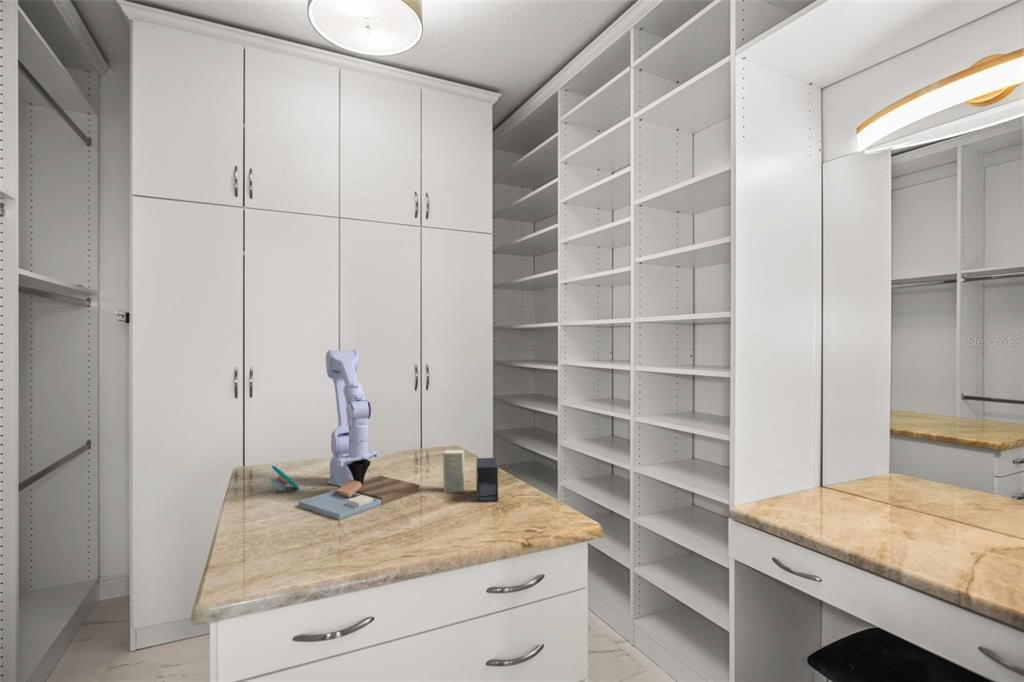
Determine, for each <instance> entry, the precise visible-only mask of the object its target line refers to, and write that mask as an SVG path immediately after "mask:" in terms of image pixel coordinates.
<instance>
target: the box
mask: <svg viewBox="0 0 1024 682" xmlns="http://www.w3.org/2000/svg"><path fill="white" fill-rule="evenodd" d="M337 490H338V489H335V490H332V491H328V492H326V493H325V492H324V493H322V494H318V495H316V496H312V497H309V498H305V499H302V500H299V501H298V508H301V509H305V510H308V511H310V512H313V513H318V514H319V515H323V516H326V517H329V518H332V519H336V520H338V521H341V520H344V519H348V518H349V517H353V516H355V515H358V514H360V513H363V512H366V511H369V510H372V509H374V508H377V507H380V506H382V505H381V500H380V499H376V498H373V497H370V498H373V502H370V503H367V504H364V505H362V506H359V507H356V508H355V507H352V506H349V505H347V500H348V499H351V498H354V497H358V496H361V495H362V494H358V493H354V494H353V495H352V496H351V497H347V496H343V495H340V494H339V493H338V491H337ZM363 496H365V495H363ZM367 497H369V496H367Z"/></svg>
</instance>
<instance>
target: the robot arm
mask: <svg viewBox="0 0 1024 682" xmlns="http://www.w3.org/2000/svg"><path fill="white" fill-rule="evenodd" d="M359 355H360V354H359V352H358V351H357V350H356V349H351V350H349V349H348V350H347V349H346V350H342V349H341V350H331V349H330V350H329V349H328V350H327V351H326V355H325V367H326V368H325V369H326V374H327V377H328V378H329V379H331V380H332V382H333V385H334V393H335V401H336V410H337V419H338V427H337V428H336V429H334V430H333V431H332V433H331V436H330V439H331V440H330V441H331V442H330V449H331V450H330V451H331V454H332V455H333V456H332V457H331V459H330V462H329V481H327V484H330V485H334V486H338V487H341V486H342V485H344V484H345V483H346V482H347V481H348V480H349V479H351V480H355V481H359V482H361V484H362V485H363V481H364V480H365V476H366V473H367V471H368V469H369V467H370V466H371V461H370V460H371V459H373V458H379V457H380V450H378V449H377V450H376V449H374V450H369V419H371V417H372V404H371V402H370V400H369V399H368V398H367V397H366V395H365V392H364V389H363V385H362V384H361V383H360V382H358V381H357V380H358V379H357V371H358V367H359V364H360V356H359ZM369 459H370V460H369Z"/></svg>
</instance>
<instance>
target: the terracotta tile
mask: <svg viewBox="0 0 1024 682" xmlns="http://www.w3.org/2000/svg"><path fill="white" fill-rule="evenodd" d="M361 486H362V484H361V482H359V481H355V480H351V479H349V480H348V481H347V482H346V483H345V484H344V485H342V486H339V488H338V489H336V490H337V491H338V493H339V494H340V495H343V496H347V497H351V496H352V495H353V494H354V493H355V492H356V491H357V490H358V489H359V488H360V487H361Z"/></svg>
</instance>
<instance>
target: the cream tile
mask: <svg viewBox="0 0 1024 682" xmlns="http://www.w3.org/2000/svg"><path fill="white" fill-rule="evenodd" d="M370 502H373V498H370V497H367V496H363V495H361V496H358V497H354V498H351V499H348V500H347V505H349V506H352V507H355V508H356V507H359V506H362V505H364V504H367V503H370Z"/></svg>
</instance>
